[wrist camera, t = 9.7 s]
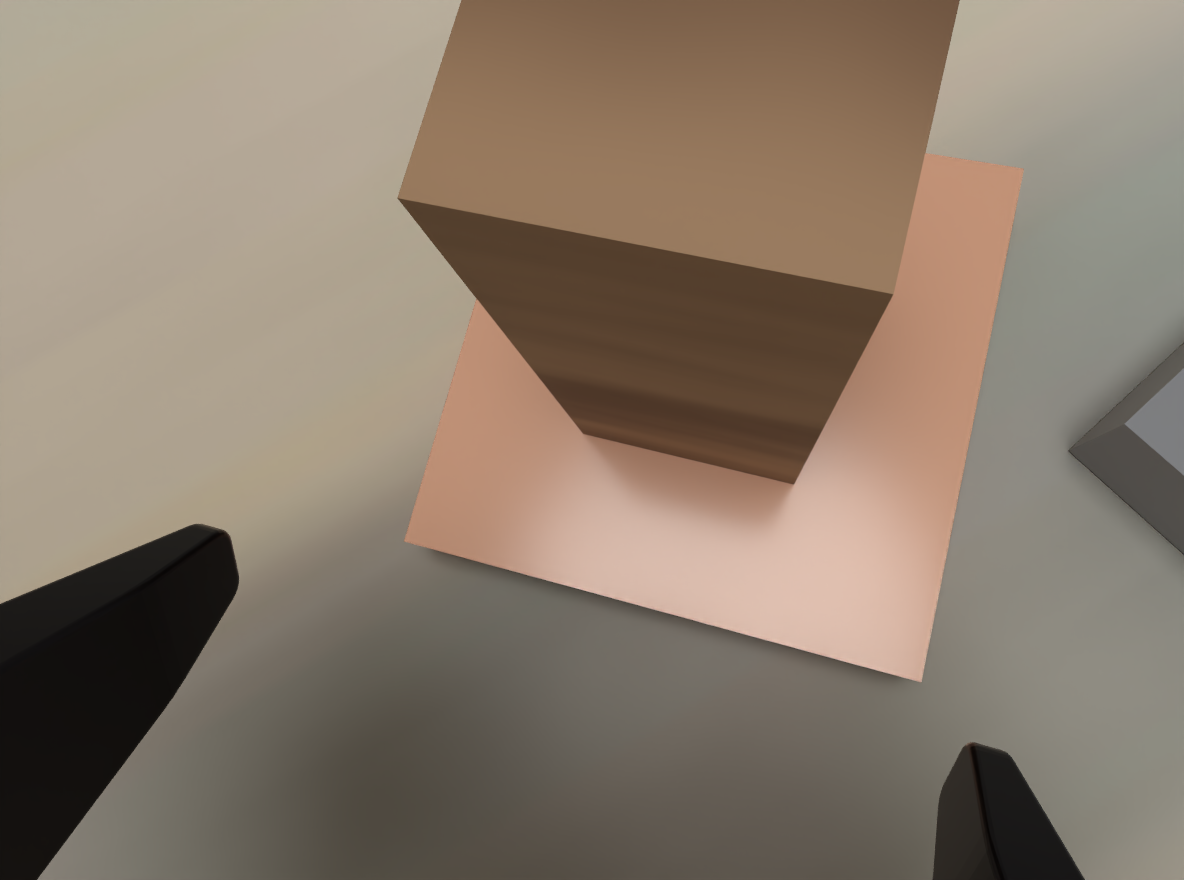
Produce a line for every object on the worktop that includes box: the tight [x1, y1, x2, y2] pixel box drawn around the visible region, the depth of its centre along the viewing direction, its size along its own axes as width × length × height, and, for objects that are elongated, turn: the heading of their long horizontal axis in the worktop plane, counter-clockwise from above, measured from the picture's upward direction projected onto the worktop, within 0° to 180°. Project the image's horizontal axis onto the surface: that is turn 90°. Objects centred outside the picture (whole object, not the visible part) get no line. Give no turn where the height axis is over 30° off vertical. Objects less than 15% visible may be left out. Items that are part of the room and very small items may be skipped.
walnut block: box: [398, 0, 960, 485], centre depth 15 cm, size 5×5×12 cm
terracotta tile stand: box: [404, 153, 1024, 682], centre depth 21 cm, size 12×12×2 cm
